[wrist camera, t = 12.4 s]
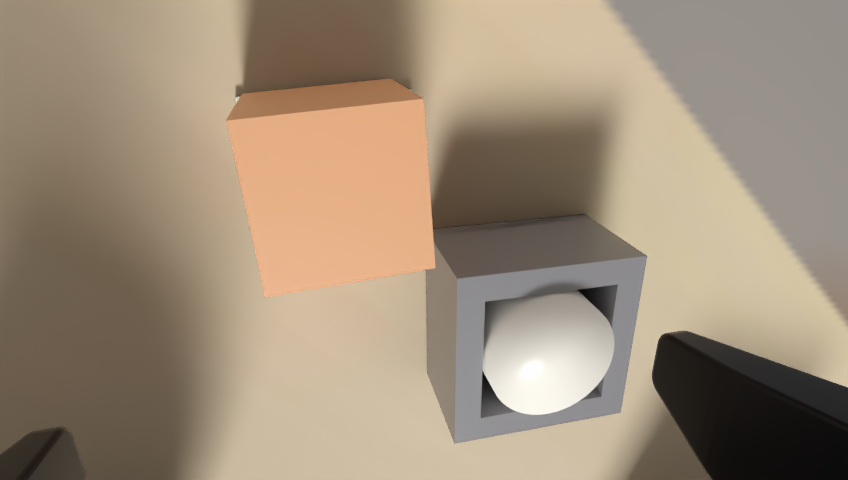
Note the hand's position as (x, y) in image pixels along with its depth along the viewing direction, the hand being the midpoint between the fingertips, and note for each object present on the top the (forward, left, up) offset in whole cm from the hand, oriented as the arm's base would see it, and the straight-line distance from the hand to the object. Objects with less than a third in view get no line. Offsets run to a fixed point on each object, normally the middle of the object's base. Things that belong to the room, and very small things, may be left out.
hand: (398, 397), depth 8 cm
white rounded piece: (+7, -6, -12) cm, 15 cm away
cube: (0, +1, -13) cm, 13 cm away
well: (+7, -6, -13) cm, 16 cm away
